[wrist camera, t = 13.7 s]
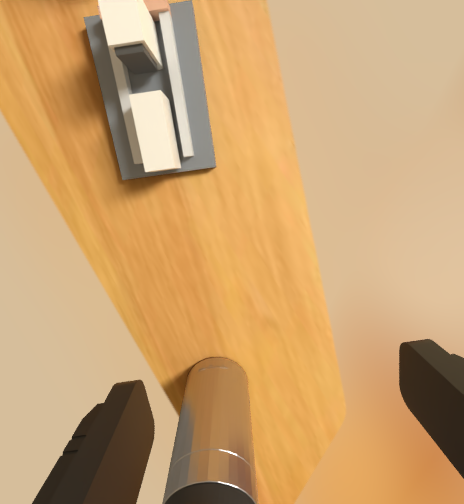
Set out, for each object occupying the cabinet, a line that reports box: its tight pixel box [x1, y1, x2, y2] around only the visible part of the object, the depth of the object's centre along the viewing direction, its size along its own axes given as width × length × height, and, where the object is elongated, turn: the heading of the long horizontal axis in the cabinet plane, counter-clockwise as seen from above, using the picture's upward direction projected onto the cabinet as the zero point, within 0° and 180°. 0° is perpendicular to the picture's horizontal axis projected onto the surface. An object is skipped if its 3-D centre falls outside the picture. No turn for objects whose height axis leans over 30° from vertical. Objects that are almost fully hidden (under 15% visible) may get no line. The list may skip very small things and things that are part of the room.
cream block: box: [129, 90, 181, 172], centre depth 29 cm, size 5×3×7 cm
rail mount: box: [84, 0, 216, 180], centre depth 28 cm, size 16×11×8 cm
